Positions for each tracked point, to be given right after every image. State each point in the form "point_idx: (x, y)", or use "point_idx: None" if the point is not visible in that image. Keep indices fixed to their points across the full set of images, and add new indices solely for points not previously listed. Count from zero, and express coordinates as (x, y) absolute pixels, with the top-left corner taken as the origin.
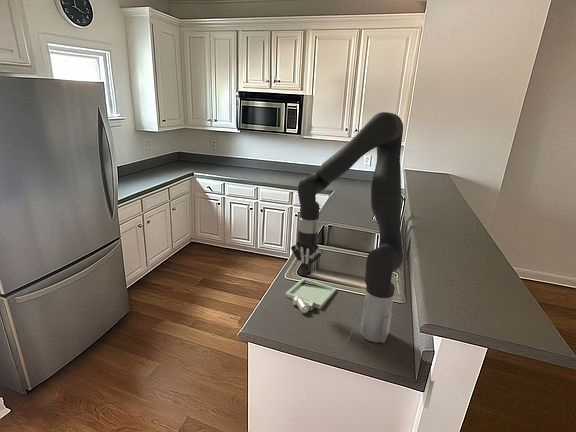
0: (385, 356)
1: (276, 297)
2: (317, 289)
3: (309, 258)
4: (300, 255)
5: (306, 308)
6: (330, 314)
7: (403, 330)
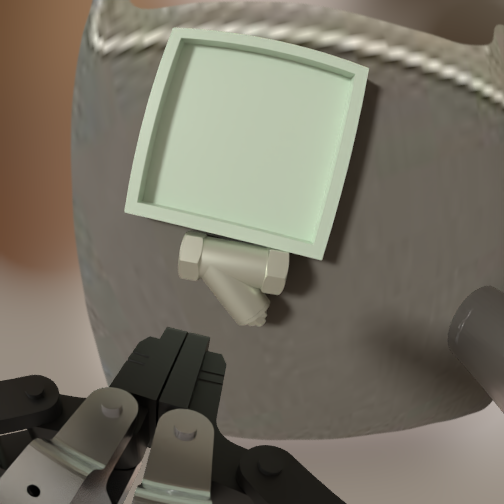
0: (471, 388)
1: (103, 224)
2: (269, 87)
3: (183, 479)
4: (19, 420)
5: (260, 320)
6: (362, 274)
7: None
